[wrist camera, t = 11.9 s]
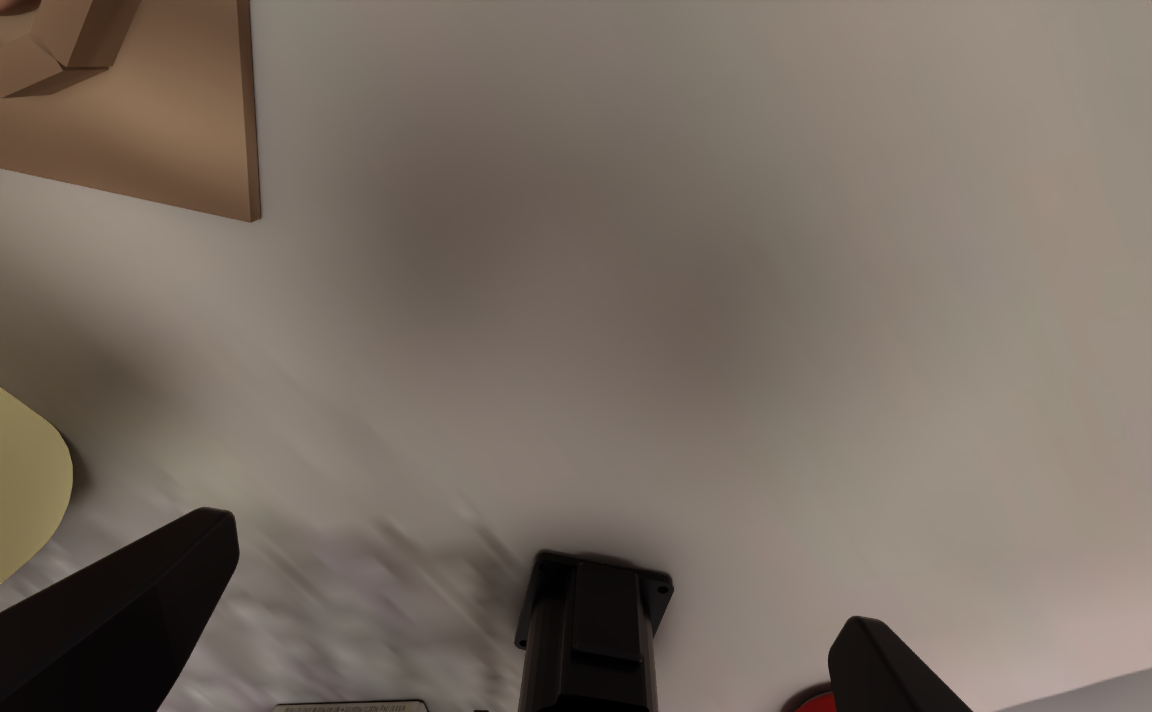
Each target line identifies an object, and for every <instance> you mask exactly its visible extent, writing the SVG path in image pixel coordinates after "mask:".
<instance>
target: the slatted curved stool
mask: <svg viewBox="0 0 1152 712" xmlns="http://www.w3.org/2000/svg"><path fill="white" fill-rule="evenodd" d="M72 486H73V465H72V461H71V457H70V453H69V449H68V447H67V445H66V444H65V442H64V440H63V439H62V437H61V435H60V433H59V432H58V431H57V430H56V429H55V428H54V426H53V425H51V424H50V423H49V422H48V421H47V420H45V419H44V418H43V417H41V416H40V415H39V414H37V413H36V412H34V411H33V410H32V409H30V408H29V407H27V406H26V405H25V404H23V403H22V402H21V401H19V400H18V399H16V398H15V397H14V396H12V395H11V394H9V393H8V392H7V391H5V390H4V389H3V388H1V387H0V585H1V584H2V583H3V582H4V581H5V580H7V579H8V578H9V577H10V576H11V575H12V574H13V573H14V572H16V571H17V570H18V569H19V568H20V567H21V566H22V565H24V564H25V563H26V562H27V561H28V560H29V559H30V558H32V557H33V556H34V555H35V554H36V553H37V552H38V551H39V550H40V549H41V548H42V547H43V546H44V545H45V544H46V543H47V541H48V540H49V539H50V538H51V536H52V535H53V534H54V532H55V531H56V529H57V528H58V526H59V524H60V522H61V521H62V518H63V516H64V513H65V511H66V509H67V506H68V504H69V500H70V495H71V490H72Z"/></svg>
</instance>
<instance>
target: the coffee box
mask: <svg viewBox="0 0 1152 712" xmlns="http://www.w3.org/2000/svg"><path fill="white" fill-rule="evenodd" d="M273 712H427V710H426V708H425V705H424V703H421V702H419V701H409V702H378V703H343V704H309V705H278V706H276V707H275V708H274V710H273Z"/></svg>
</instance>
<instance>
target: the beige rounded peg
mask: <svg viewBox="0 0 1152 712" xmlns="http://www.w3.org/2000/svg"><path fill="white" fill-rule="evenodd" d="M41 1H42V0H0V16H11V15H18V14H22V13H25V12H28V11H31V10H34V9H35V8H37V7H39V6H40V3H41Z"/></svg>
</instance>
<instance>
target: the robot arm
mask: <svg viewBox="0 0 1152 712" xmlns="http://www.w3.org/2000/svg"><path fill="white" fill-rule="evenodd" d="M238 560H239V543H238V536H237V528H236V521H235V516H234V515H233V513H232V512H230V511H228V510H222V509H216V508H210V507H201V508H198V509H195V510H193V511H191V512H189V513H188V514H186V515H184V516H182V517H180V518H178V519H176V520H174V521H172V522H170V523H169V524H167V525H165V526H163V527H161V528H159V529H157V530H155V531H153V532H151V533H150V534H148V535H146V536H144V537H142V538H140V539H138V540H136V541H134V542H133V543H131V544H129V545H127V546H125V547H123V548H121V549H119V550H117V551H115V552H114V553H112V554H110V555H108V556H106V557H104V558H102V559H100V560H98V561H96V562H95V563H93V564H91V565H89V566H87V567H85V568H83V569H81V570H79V571H78V572H76V573H74V574H72V575H70V576H68V577H66V578H64V579H62V580H60V581H59V582H57V583H55V584H53V585H51V586H49V587H47V588H45V589H43V590H41V591H40V592H38V593H36V594H34V595H32V596H30V597H28V598H26V599H24V600H22V601H21V602H19V603H17V604H15V605H13V606H11V607H9V608H7V609H5V610H4V611H2V612H0V712H157V710H158V708H159V707H160V705H161V704H162V702H163V701H164V699H165V698H166V696H167V695H168V693H169V691H170V690H171V688H172V687H173V685H174V683H175V682H176V680H177V679H178V677H179V675H180V673H181V672H182V670H183V668H184V666H185V664H186V662H187V661H188V659H189V657H190V655H191V653H192V651H193V649H194V647H195V646H196V644H197V642H198V640H199V638H200V636H201V634H202V632H203V630H204V628H205V626H206V624H207V623H208V621H209V619H210V617H211V615H212V613H213V611H214V609H215V607H216V605H217V603H218V602H219V600H220V598H221V596H222V594H223V592H224V590H225V588H226V586H227V584H228V582H229V581H230V579H231V577H232V575H233V573H234V571H235V569H236V566H237V564H238ZM544 564H547V565H544ZM673 592H674V586H673V581H672V579H671V578H670V577H668V576H665V575H660V574H655V573H650V572H644V571H639V570H634V569H629V568H623V567H618V566H613V565H607V564H602V563H597V562H592V561H586V560H581V559H576V558H570V557H565V556H560V555H555V554H549V553H541V554H538V555H537V556H536V557H535V559H534V563H533V567H532V571H531V575H530V579H529V583H528V587H527V591H526V595H525V599H524V603H523V607H522V611H521V615H520V618H519V622H518V626H517V630H516V634H515V641H514V644H515V646H516V647H518V648H519V649H522V650H526V654H525V662H524V669H523V676H522V684H521V691H520V699H519V706H518V712H658V699H657V686H656V674H655V661H654V649H653V638H654V635H655V633H656V631H657V629H658V626H659V624H660V622H661V619H662V617H663V615H664V613H665V610H666V608H667V606H668V603H669V601H670V599H671V597H672V594H673ZM828 668H829V674H830V679H831V685H832V690H833V696H834V701H835V707H836V712H973V711H972V710H971V709H970V708H969V707H968V706H967V705H966V704H965V703H964V702H963V701H962V700H961V699H960V698H959V697H958V696H957V695H956V694H955V693H954V692H953V691H952V690H951V689H950V688H949V687H948V686H947V685H946V684H945V683H944V682H943V681H942V680H941V679H940V678H939V677H938V676H937V675H936V674H935V673H934V672H933V671H932V670H931V669H930V668H929V667H928V666H927V665H926V664H925V663H924V662H923V661H922V660H921V659H920V658H919V657H918V656H917V655H916V654H915V653H914V652H913V651H912V650H911V649H910V648H909V647H908V646H907V645H906V644H905V643H904V642H903V641H902V640H901V639H900V638H899V637H898V636H897V635H896V634H895V633H894V632H893V631H892V630H891V629H890V628H889V627H888V626H887V625H886V624H885V623H884V622H882V621H880V620H878V619H874V618H868V617H862V616H852V617H851V618H849V619H848V620H847V622H846V623H845V625H844V627H843V628H842V630H841V631H840V633H839V635H838V636H837V638H836V640H835V641H834V643H833V645H832V646H831V648H830V651H829V655H828ZM474 712H489V711H488V710H474Z"/></svg>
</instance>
